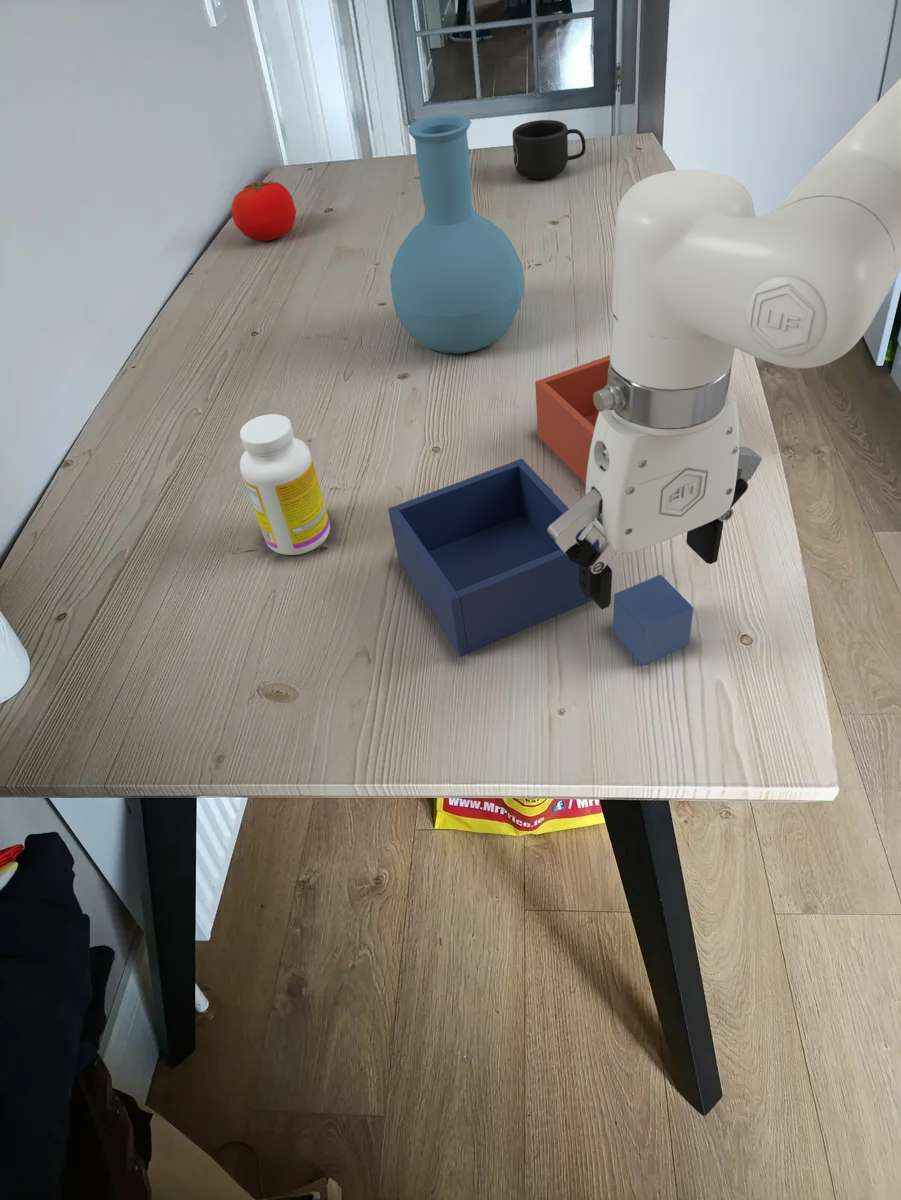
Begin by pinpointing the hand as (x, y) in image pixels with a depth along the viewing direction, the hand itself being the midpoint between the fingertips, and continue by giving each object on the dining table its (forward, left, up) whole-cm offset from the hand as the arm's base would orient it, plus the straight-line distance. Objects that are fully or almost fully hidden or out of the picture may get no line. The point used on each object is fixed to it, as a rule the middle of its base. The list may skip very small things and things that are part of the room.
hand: (649, 574), depth 69 cm
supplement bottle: (+22, -29, -7) cm, 37 cm away
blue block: (0, 0, -7) cm, 7 cm away
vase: (-9, -56, -7) cm, 57 cm away
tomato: (+3, -104, -7) cm, 104 cm away
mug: (-45, -97, -7) cm, 107 cm away
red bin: (-13, -24, -7) cm, 28 cm away
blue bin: (+8, -13, -7) cm, 16 cm away
